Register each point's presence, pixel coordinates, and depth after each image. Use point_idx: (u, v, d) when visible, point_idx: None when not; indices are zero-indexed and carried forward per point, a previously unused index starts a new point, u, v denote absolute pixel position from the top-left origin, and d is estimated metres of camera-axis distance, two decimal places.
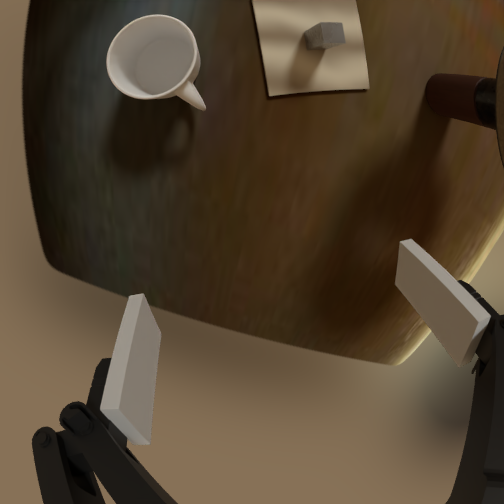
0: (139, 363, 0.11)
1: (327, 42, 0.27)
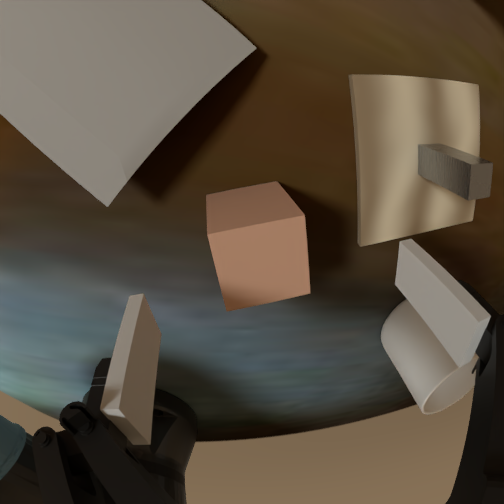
0: (139, 363, 0.11)
1: (488, 191, 0.17)
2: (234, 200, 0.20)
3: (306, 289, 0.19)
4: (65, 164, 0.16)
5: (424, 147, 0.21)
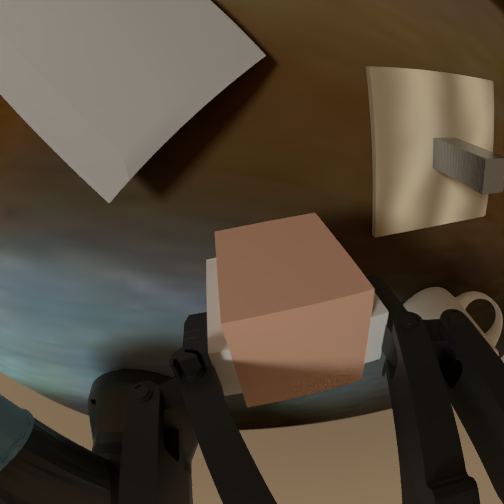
0: None
1: (502, 186, 0.16)
2: (257, 247, 0.14)
3: (357, 376, 0.12)
4: (70, 159, 0.17)
5: (439, 140, 0.20)
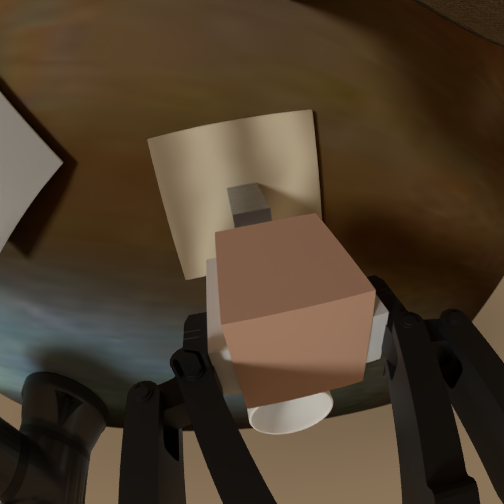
0: None
1: None
2: (258, 247, 0.13)
3: (358, 377, 0.12)
4: None
5: (227, 191, 0.26)
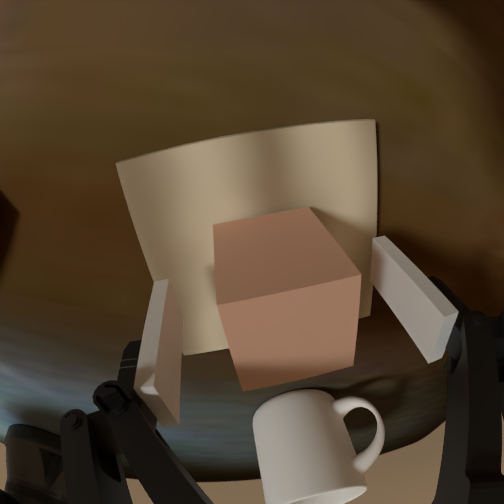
0: (168, 344, 0.12)
1: None
2: (253, 238, 0.14)
3: (349, 361, 0.13)
4: None
5: None
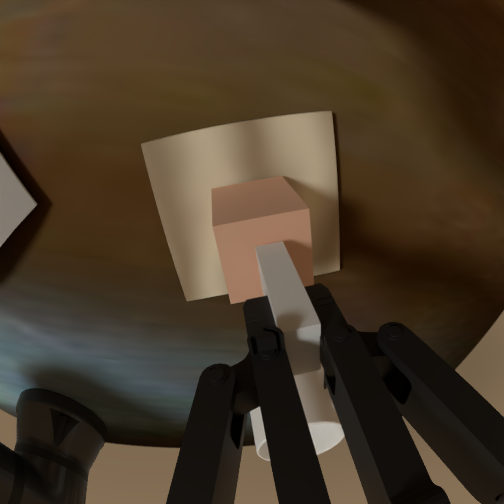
0: None
1: None
2: (239, 194, 0.20)
3: (310, 282, 0.19)
4: None
5: None
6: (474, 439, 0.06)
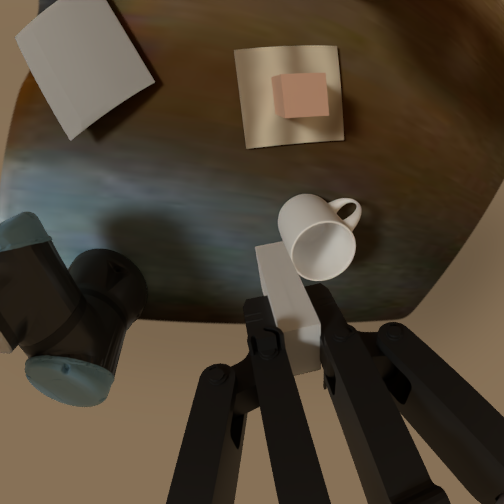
0: None
1: None
2: None
3: (327, 112, 0.32)
4: (59, 116, 0.33)
5: None
6: (474, 439, 0.06)
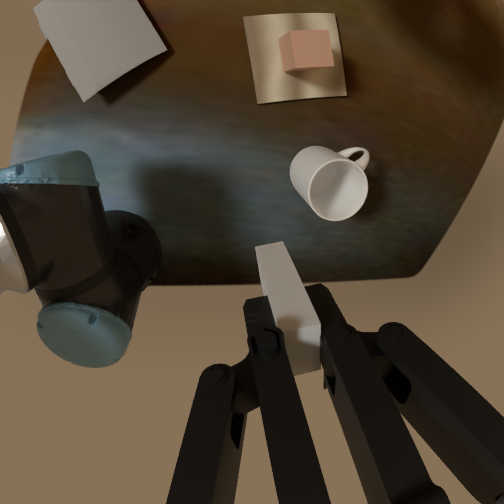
0: None
1: None
2: None
3: (332, 63, 0.33)
4: (73, 80, 0.33)
5: None
6: (474, 439, 0.06)
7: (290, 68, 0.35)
